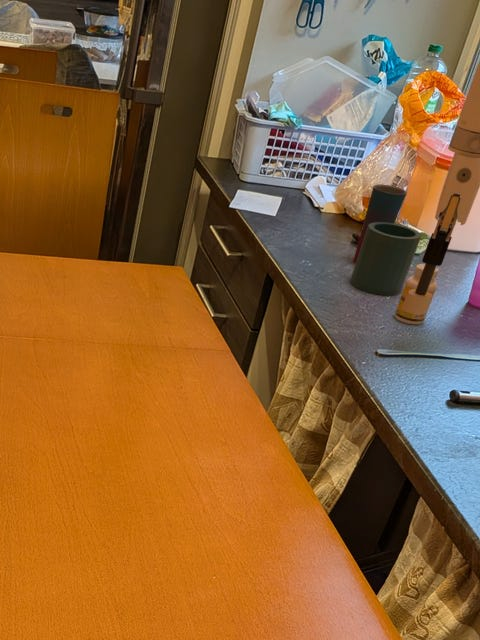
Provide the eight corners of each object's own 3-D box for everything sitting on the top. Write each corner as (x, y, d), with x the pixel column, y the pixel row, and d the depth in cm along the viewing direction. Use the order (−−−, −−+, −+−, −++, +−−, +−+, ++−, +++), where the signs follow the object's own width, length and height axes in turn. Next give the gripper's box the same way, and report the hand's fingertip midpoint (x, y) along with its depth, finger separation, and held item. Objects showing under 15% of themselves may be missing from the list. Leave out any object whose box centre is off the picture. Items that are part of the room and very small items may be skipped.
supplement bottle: (397, 311, 180) (416, 260, 173) (425, 319, 178) (445, 267, 172) (390, 319, 176) (410, 267, 170) (419, 327, 174) (440, 275, 168)
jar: (380, 276, 196) (399, 221, 188) (411, 294, 188) (432, 238, 181) (340, 277, 192) (358, 222, 185) (369, 296, 185) (389, 239, 178)
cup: (350, 265, 199) (374, 190, 190) (348, 255, 205) (372, 182, 195) (382, 270, 199) (408, 196, 189) (379, 260, 204) (405, 187, 194)
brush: (415, 305, 165) (446, 223, 156) (430, 314, 162) (462, 231, 153) (397, 306, 164) (427, 223, 155) (412, 315, 161) (443, 231, 152)
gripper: (498, 156, 139) (450, 280, 151) (504, 137, 150) (459, 253, 162) (446, 147, 141) (403, 270, 153) (456, 129, 152) (415, 244, 164)
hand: (432, 260), depth 158 cm, fingers closed on brush
